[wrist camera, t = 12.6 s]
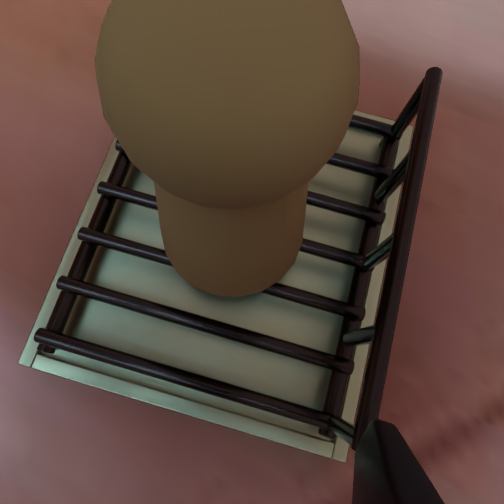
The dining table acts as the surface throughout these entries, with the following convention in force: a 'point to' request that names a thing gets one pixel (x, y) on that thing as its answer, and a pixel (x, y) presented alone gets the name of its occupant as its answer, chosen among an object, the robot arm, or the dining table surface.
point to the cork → (229, 123)
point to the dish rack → (248, 298)
